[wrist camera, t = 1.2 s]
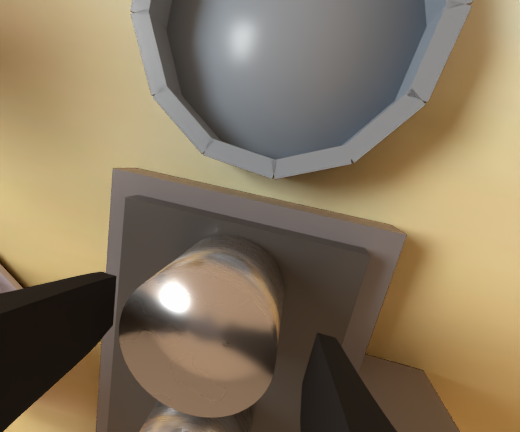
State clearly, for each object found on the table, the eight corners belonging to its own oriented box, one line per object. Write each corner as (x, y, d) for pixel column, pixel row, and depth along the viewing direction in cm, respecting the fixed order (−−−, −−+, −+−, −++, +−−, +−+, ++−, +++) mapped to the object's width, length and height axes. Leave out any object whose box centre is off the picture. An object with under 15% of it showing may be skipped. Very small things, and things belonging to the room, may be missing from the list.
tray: (274, 221, 13) (269, 231, 11) (116, 38, 13) (79, 13, 11) (499, 35, 10) (551, 1, 8) (306, -216, 10) (308, -322, 8)
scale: (356, 557, 17) (378, 711, 12) (110, 466, 19) (46, 568, 14) (492, 247, 12) (622, 303, 7) (136, 167, 14) (49, 169, 9)
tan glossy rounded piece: (227, 353, 12) (192, 440, 8) (157, 277, 12) (89, 330, 8) (307, 297, 11) (311, 369, 7) (232, 211, 11) (194, 237, 7)
